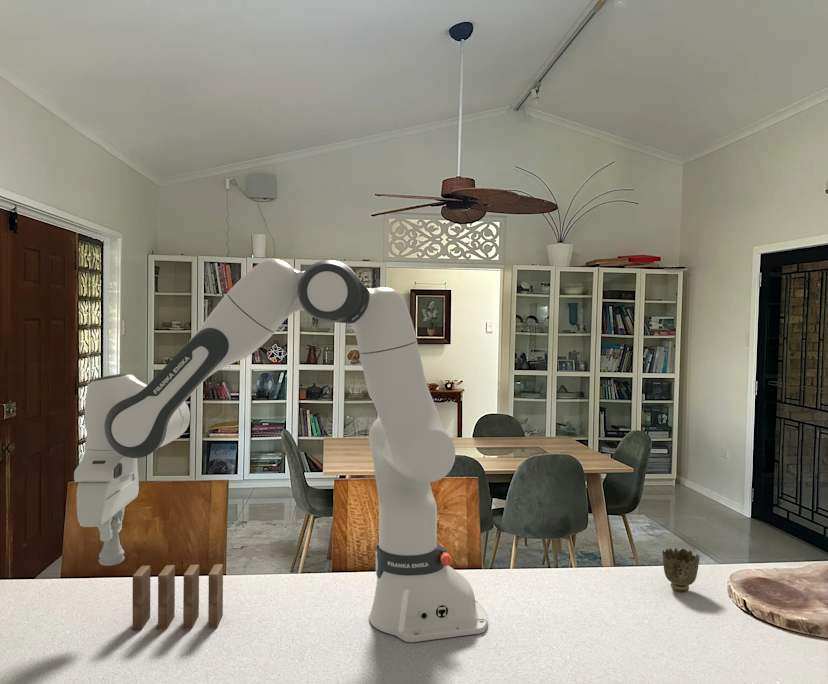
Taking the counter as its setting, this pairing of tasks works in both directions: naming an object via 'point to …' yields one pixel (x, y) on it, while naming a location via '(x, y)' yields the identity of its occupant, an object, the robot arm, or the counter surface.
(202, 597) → the counter surface
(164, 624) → the domino
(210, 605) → the domino
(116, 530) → the rook chess piece
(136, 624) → the domino
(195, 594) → the domino
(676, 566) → the cup
